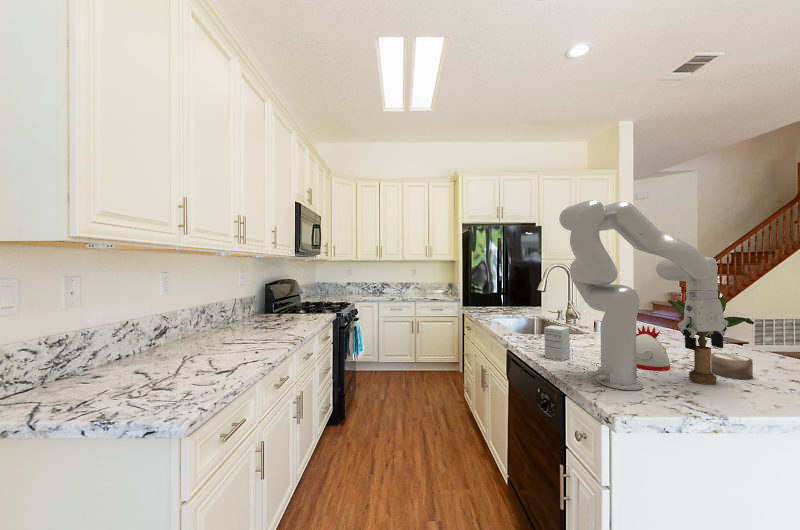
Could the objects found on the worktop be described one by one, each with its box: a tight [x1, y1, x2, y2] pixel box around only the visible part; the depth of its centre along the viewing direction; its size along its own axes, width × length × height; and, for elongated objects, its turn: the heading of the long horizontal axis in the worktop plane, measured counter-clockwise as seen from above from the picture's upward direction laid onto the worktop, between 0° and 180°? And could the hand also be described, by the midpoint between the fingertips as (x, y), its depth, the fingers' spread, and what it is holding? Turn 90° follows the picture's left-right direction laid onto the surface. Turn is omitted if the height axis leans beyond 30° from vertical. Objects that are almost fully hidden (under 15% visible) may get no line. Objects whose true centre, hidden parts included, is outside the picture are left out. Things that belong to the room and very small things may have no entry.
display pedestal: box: [711, 352, 754, 381], centre depth 112 cm, size 10×10×6 cm
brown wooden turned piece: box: [688, 331, 717, 386], centre depth 106 cm, size 7×6×18 cm
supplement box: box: [543, 324, 571, 362], centre depth 134 cm, size 7×7×13 cm
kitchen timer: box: [636, 325, 671, 372], centre depth 124 cm, size 14×14×15 cm
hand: (704, 348), depth 106 cm, fingers open, 9 cm apart
